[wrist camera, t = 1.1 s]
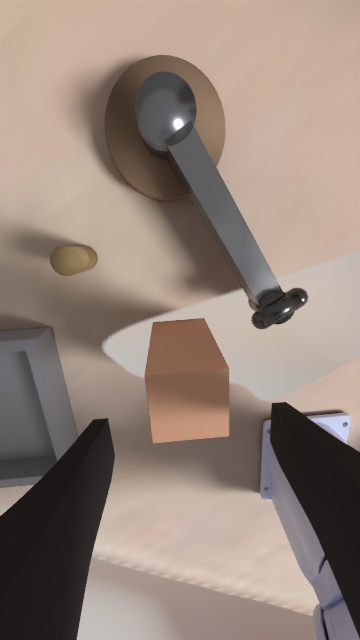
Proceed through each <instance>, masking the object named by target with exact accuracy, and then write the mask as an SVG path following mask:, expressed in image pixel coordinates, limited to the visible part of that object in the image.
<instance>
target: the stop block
mask: <svg viewBox="0 0 360 640" xmlns="http://www.w3.org/2000/svg"><path fill="white" fill-rule="evenodd" d="M145 382H146V390H147V398H148V407H149V415H150V423H151V431H152V439H153V443H162V442H172V441H183V440H193V439H204V438H215V437H225V436H229V368H228V365H227V363H226V361H225V360H224V357H223V356H222V353H221V352H220V349H219V347H218V345H217V343H216V341H215V339H214V338H213V335H212V333H211V331H210V329H209V327H208V325H207V323H206V321H205V319H204V318H202V319H190V320H176V321H164V322H153V326H152V332H151V339H150V345H149V351H148V358H147V364H146V370H145Z"/></svg>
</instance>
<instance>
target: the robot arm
mask: <svg viewBox="0 0 360 640" xmlns="http://www.w3.org/2000/svg"><path fill="white" fill-rule="evenodd" d="M350 422H351V417H350V415H349V414H347V413H336V414H325V415H314V416H305V415H303V414H302V413H300V412H299V411H298V410H296V409H295V408H293V407H292V406H291V405H289V404H288V403H286V402H281V403H272V411H271V420H266V421H265V422H264V423H263V437H262V459H261V480H260V496H261V498H262V499H272V501H273V504H274V506H275V509H276V511H277V513H278V516H279V518H280V521H281V523H282V526H283V528H284V530H285V533H286V535H287V538H288V540H289V543H290V545H291V547H292V550H293V552H294V555H295V557H296V560H297V562H298V564H299V566H300V568H301V570H302V572H303V574H304V575H305V577H306V578H307V580H308V581H309V582H310V584H311V585H312V586H313V588H314V591H315V593H316V595H317V598H318V600H319V602H320V604H318V605H316V607H315V609H314V611H313V625H314V626H313V627H314V638H315V640H360V452H358V451H357V450H355V449H354V448H352V447H350V446H349V445H348V444H347V439H348V433H349V428H350ZM269 429H270V430H269ZM267 430H269V431H267ZM114 458H115V454H114V448H113V443H112V438H111V432H110V427H109V422H108V418H106V419H95V420H93V421H92V422H91V423H90V424H89V426H88V427H87V428H86V429H85V430H84V431H83V433H82V434H81V435H80V436H79V437H78V438H77V440H76V441H75V442H74V443H73V444H72V445H71V447H70V448H69V449H68V450H67V451H66V452H65V453H64V455H63V456H62V457H61V458H60V459H59V460H58V461H57V462H56V463H55V465H54V466H53V467H52V468H51V469H50V470H49V471H48V472H47V473H46V474H45V475H44V476H43V477H42V478H41V479H40V480H39V481H38V482H37V483H36V484H35V485H34V486H33V487H32V488H31V489H30V490H29V491H28V492H27V493H26V494H25V495H24V496H23V497H21V498H20V499H19V500H18V501H17V502H16V503H15V504H14V505H13V506H12V507H11V508H9V509H8V510H7V511H6V512H5V513H4V514H2V515H1V516H0V640H77V633H78V628H79V622H80V616H81V610H82V604H83V599H84V593H85V587H86V582H87V576H88V571H89V566H90V560H91V556H92V552H93V548H94V543H95V540H96V536H97V532H98V528H99V525H100V521H101V517H102V513H103V510H104V506H105V502H106V498H107V495H108V491H109V487H110V483H111V478H112V472H113V465H114Z"/></svg>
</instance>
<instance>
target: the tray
mask: <svg viewBox="0 0 360 640" xmlns="http://www.w3.org/2000/svg"><path fill="white" fill-rule="evenodd" d="M77 438H78V434H77V430H76V426H75V422H74V417H73V413H72V409H71V405H70V401H69V397H68V392H67V388H66V384H65V380H64V376H63V371H62V367H61V363H60V359H59V355H58V350H57V346H56V342H55V338H54V334H53V329H52V327H42V328H29V329H16V330H4V331H0V488H3V487H13V486H23V485H33V484H36V483H37V482H38V481H39V480H40V479H41V478H42V477H43V476H44V475H45V474H46V473H47V472H48V471H49V470H50V469H51V468H52V467H53V466H54V465H55V463H56V462H57V461H58V460H59V459H60V458H61V457H62V456H63V455H64V453H65V452H66V451H67V450H68V449H69V448H70V447H71V445H72V444H73V443H74V442H75V441H76V440H77Z"/></svg>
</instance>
